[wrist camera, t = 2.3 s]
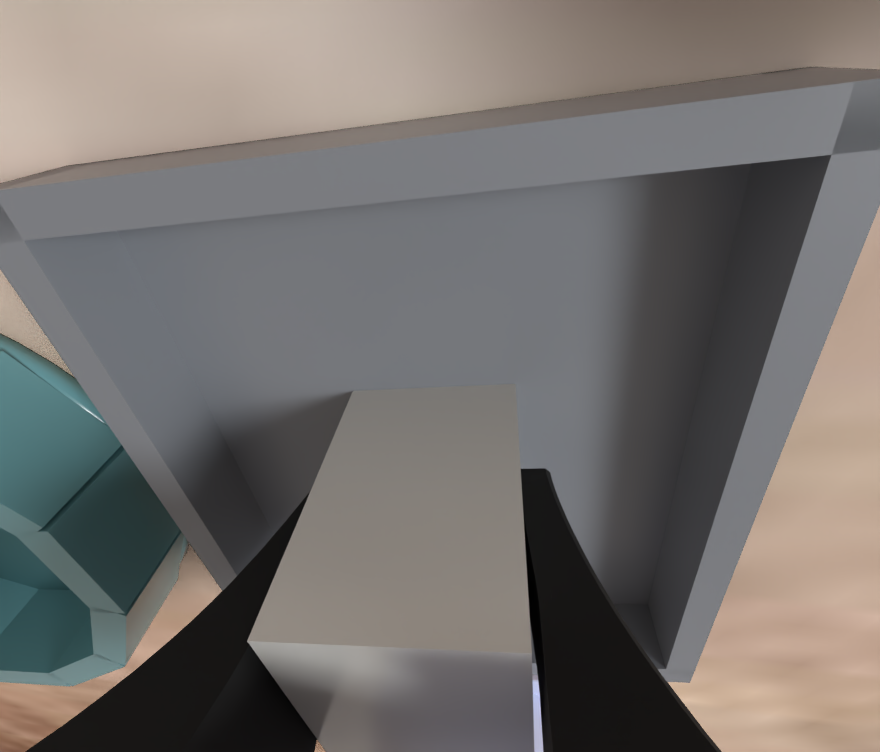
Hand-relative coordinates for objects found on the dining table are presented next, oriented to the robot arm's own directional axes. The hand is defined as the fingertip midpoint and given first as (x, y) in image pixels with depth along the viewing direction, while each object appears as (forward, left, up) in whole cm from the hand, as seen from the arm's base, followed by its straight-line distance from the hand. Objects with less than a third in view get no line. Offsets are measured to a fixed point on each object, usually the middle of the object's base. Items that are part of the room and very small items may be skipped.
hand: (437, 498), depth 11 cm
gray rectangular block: (0, 0, -2) cm, 2 cm away
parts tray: (0, 0, -2) cm, 2 cm away
